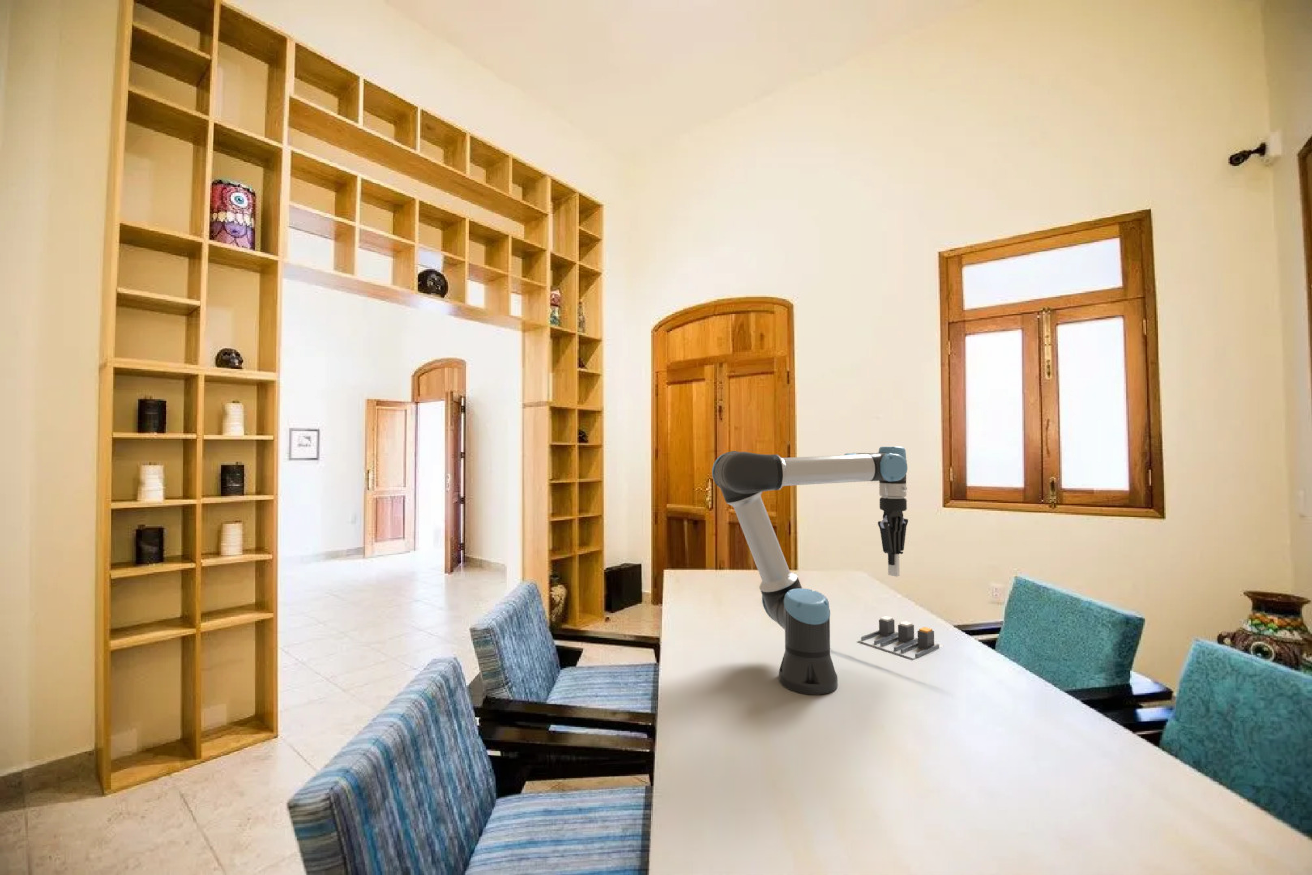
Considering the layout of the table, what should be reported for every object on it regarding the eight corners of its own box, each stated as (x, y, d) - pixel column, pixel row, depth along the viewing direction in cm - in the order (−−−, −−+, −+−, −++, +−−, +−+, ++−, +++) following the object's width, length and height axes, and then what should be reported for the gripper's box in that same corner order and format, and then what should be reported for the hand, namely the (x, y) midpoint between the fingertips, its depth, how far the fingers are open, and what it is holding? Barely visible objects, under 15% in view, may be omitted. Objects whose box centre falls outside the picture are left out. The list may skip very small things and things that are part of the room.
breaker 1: (887, 637, 169) (887, 620, 169) (879, 635, 172) (878, 617, 172) (894, 635, 171) (894, 617, 172) (886, 632, 174) (885, 615, 174)
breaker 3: (927, 650, 158) (927, 631, 158) (917, 647, 161) (917, 628, 161) (934, 647, 161) (933, 628, 161) (924, 644, 163) (924, 626, 163)
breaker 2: (907, 643, 164) (907, 625, 164) (898, 640, 166) (898, 623, 166) (914, 640, 166) (913, 623, 166) (905, 638, 169) (904, 620, 169)
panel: (908, 668, 148) (908, 660, 148) (846, 647, 164) (846, 640, 164) (953, 647, 163) (952, 640, 163) (891, 630, 180) (891, 623, 180)
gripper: (892, 499, 153) (893, 581, 152) (916, 496, 160) (917, 574, 160) (869, 497, 159) (870, 575, 158) (893, 495, 166) (893, 570, 166)
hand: (893, 575), depth 159 cm, fingers closed
